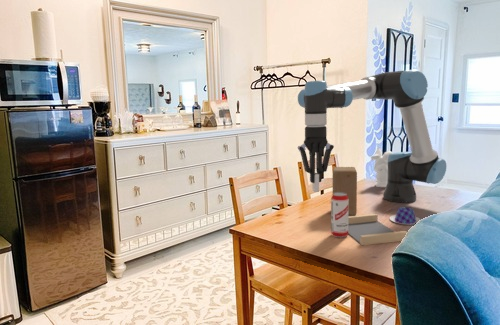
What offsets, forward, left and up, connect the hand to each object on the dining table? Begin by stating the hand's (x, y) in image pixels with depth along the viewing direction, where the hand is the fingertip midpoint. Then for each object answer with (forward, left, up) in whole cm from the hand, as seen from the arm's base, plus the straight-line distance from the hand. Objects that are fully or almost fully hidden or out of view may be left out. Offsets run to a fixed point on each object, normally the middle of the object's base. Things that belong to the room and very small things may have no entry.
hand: (315, 191), depth 133 cm
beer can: (-9, 0, -18) cm, 20 cm away
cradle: (-21, 0, -18) cm, 28 cm away
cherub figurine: (-61, -64, -18) cm, 90 cm away
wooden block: (-22, -25, -18) cm, 38 cm away
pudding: (-41, -8, -18) cm, 46 cm away
